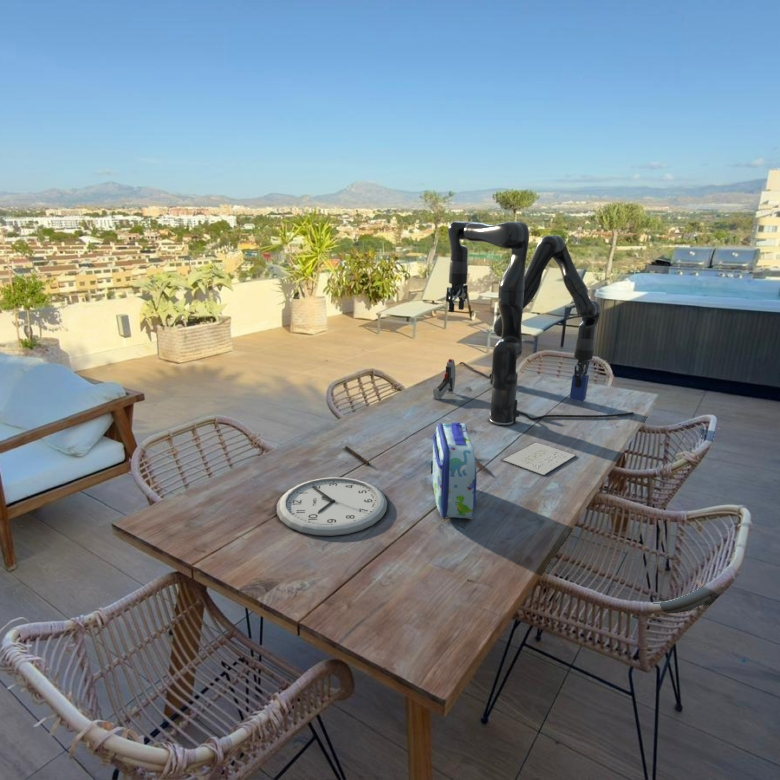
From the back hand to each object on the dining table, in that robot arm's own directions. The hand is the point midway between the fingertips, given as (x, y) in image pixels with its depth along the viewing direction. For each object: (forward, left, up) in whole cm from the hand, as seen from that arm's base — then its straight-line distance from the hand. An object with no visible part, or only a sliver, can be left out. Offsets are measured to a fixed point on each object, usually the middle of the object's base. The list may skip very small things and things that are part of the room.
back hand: (579, 385), depth 229 cm
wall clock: (-7, -135, -8) cm, 135 cm away
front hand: (-42, -36, +31) cm, 64 cm away
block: (0, 0, -6) cm, 6 cm away
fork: (+6, -85, -8) cm, 85 cm away
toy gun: (-47, -36, -8) cm, 59 cm away
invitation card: (+18, -66, -8) cm, 69 cm away
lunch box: (+15, -110, -8) cm, 111 cm away
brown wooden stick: (-26, -109, -8) cm, 112 cm away
